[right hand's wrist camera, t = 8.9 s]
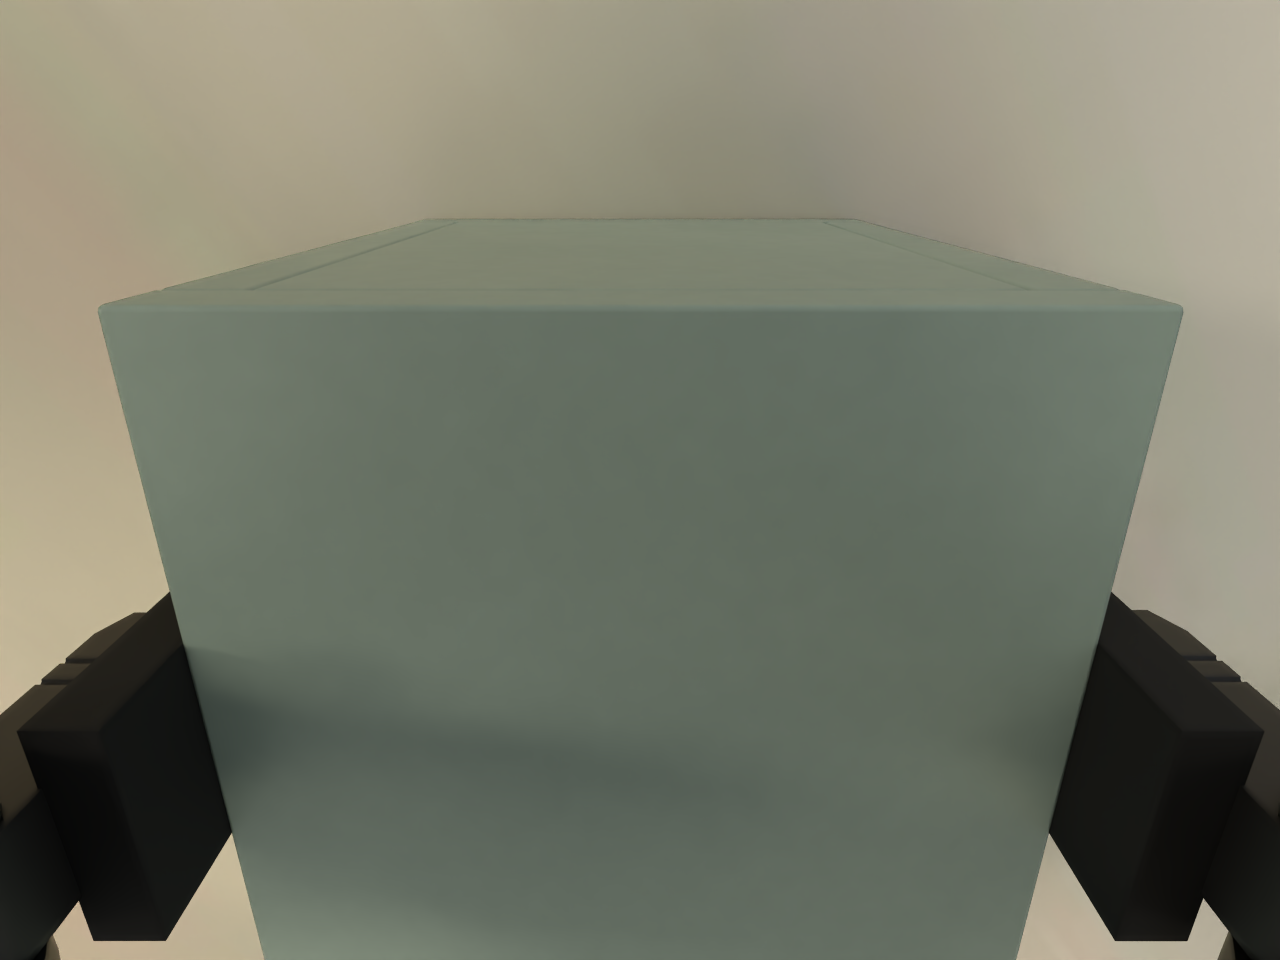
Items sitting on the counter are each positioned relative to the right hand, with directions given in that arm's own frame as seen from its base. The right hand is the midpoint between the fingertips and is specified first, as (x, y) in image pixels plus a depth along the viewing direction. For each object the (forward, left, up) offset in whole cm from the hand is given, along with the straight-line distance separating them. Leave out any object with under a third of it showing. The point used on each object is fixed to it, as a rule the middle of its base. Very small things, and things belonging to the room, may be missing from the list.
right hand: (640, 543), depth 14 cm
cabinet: (+1, -5, -7) cm, 8 cm away
